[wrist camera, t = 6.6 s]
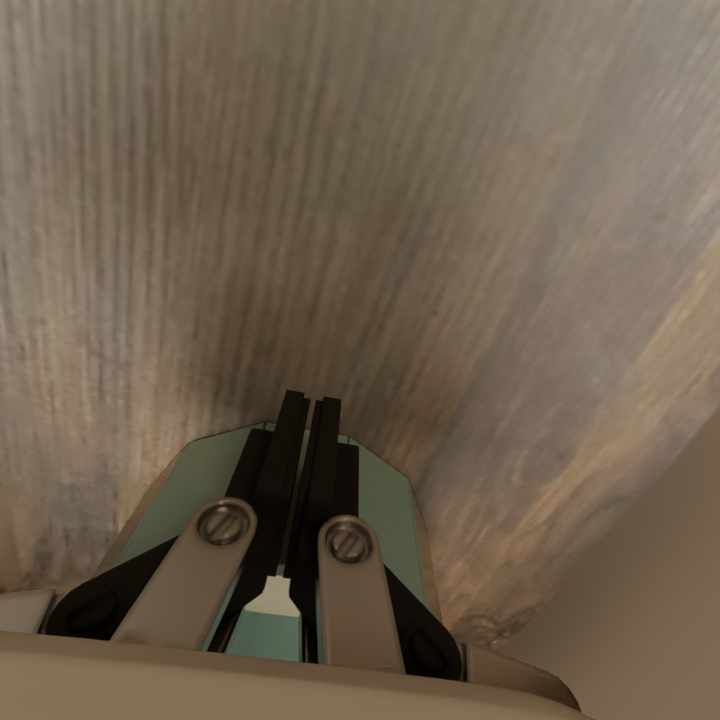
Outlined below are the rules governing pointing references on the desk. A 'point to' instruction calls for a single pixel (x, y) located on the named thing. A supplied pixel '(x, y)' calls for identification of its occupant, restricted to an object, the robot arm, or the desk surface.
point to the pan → (274, 607)
